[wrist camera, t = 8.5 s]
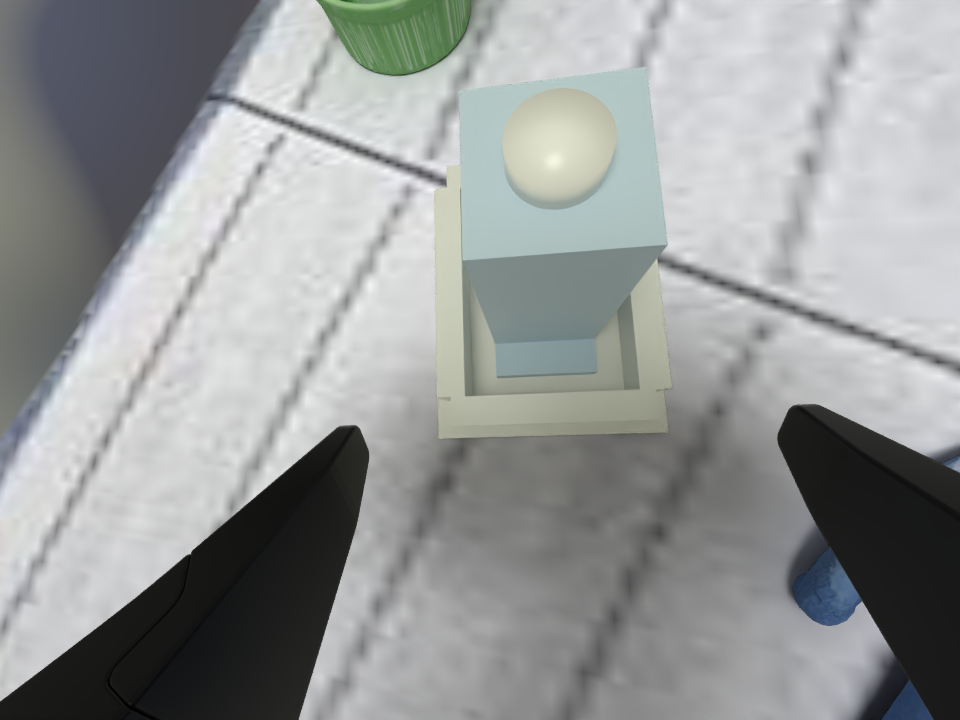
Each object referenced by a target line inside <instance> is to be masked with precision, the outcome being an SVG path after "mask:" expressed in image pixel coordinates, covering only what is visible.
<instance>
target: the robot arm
mask: <svg viewBox="0 0 960 720" xmlns="http://www.w3.org/2000/svg"><path fill="white" fill-rule="evenodd" d="M777 439H778V445H779V447H780V450H781V452H782V454H783V456H784V458H785V460H786V463H787V465H788V467H789V469H790V471H791V473H792V475H793V478H794V480H795V482H796V484H797V486H798V488H799V491H800V493H801V495H802V497H803V499H804V501H805V503H806V506H807V507H808V509H809V511H810V513H811V515H812V517H813V519H814V521H815V523H816V524H817V526H818V528H819V530H820V531H821V533H822V535H823V536H824V538H825V540H826V541H827V543H828V545H829V546H830V548H831V550H832V551H833V553H834V555H835V556H836V558H837V560H838V561H839V563H840V565H841V566H842V568H843V570H844V571H845V573H846V575H847V576H848V578H849V580H850V581H851V583H852V585H853V586H854V588H855V590H856V591H857V593H858V595H859V596H860V598H861V600H862V601H863V603H864V605H865V606H866V608H867V610H868V611H869V613H870V615H871V617H872V618H873V620H874V622H875V623H876V625H877V627H878V628H879V630H880V632H881V633H882V635H883V637H884V638H885V640H886V642H887V643H888V645H889V647H890V648H891V650H892V652H893V653H894V655H895V657H896V658H897V660H898V662H899V663H900V665H901V667H902V668H903V670H904V672H905V673H906V675H907V677H908V678H909V680H910V682H911V683H912V685H913V687H914V688H915V690H916V692H917V693H918V695H919V697H920V698H921V700H922V702H923V703H924V705H925V707H926V708H927V710H928V712H929V713H930V715H931V717H932V719H933V720H960V472H958V471H956V470H954V469H951V468H949V467H947V466H945V465H943V464H941V463H939V462H937V461H935V460H933V459H931V458H929V457H926V456H924V455H922V454H920V453H918V452H916V451H914V450H912V449H910V448H908V447H906V446H904V445H901V444H899V443H897V442H895V441H893V440H891V439H889V438H887V437H885V436H883V435H881V434H879V433H876V432H874V431H872V430H870V429H868V428H866V427H864V426H862V425H860V424H858V423H856V422H854V421H851V420H849V419H847V418H845V417H843V416H841V415H839V414H837V413H835V412H833V411H831V410H829V409H827V408H824V407H822V406H820V405H817V404H803V405H794V406H792V407H791V408H790V409H789V410H788V412H787V414H786V417H785V419H784V421H783V423H782V426H781V428H780V430H779V432H778V437H777ZM368 463H369V451H368V448H367V445H366V443H365V440H364V438H363V435H362V433H361V430H360V428H359V427H358V426H356V425H348V426H339V427H338V428H336V429H335V430H334V431H333V432H331V433H330V434H329V435H328V436H327V437H326V438H324V439H323V440H322V441H321V442H320V443H318V444H317V445H316V446H315V447H314V448H313V449H311V450H310V451H309V452H308V453H307V454H305V455H304V456H303V457H302V458H301V459H300V460H298V461H297V462H296V463H295V464H294V465H293V466H291V467H290V468H289V469H288V470H287V471H285V472H284V473H283V474H282V475H281V476H280V477H278V478H277V479H276V480H275V481H274V482H273V483H271V484H270V485H269V486H268V487H267V488H265V489H264V490H263V491H262V492H261V493H260V494H258V495H257V496H256V497H255V498H254V499H252V500H251V501H250V502H249V503H248V504H247V505H245V506H244V507H243V508H242V509H241V510H240V511H238V512H237V513H236V514H235V515H234V516H232V517H231V518H230V519H229V520H228V521H227V522H225V523H224V524H223V525H222V526H221V527H220V528H218V529H217V530H216V531H215V532H214V533H212V534H211V535H210V536H209V537H208V538H207V539H205V540H204V541H203V542H202V543H201V544H199V545H198V546H197V547H196V548H195V549H194V550H193V551H192V552H191V555H190V554H188V555H186V556H185V557H184V558H183V559H182V560H180V561H179V562H178V563H177V564H176V565H175V566H173V567H172V568H171V569H170V570H169V571H168V572H166V573H165V574H164V575H163V576H161V577H160V578H159V579H158V580H157V581H155V582H154V583H153V584H152V585H151V586H149V587H148V588H147V589H146V590H144V591H143V592H142V593H141V594H140V595H138V596H137V597H136V598H135V599H133V600H132V601H131V602H130V603H128V604H127V605H126V606H124V607H123V608H122V609H121V610H119V611H118V612H117V613H116V614H114V615H113V616H112V617H110V618H109V619H108V620H107V621H105V622H104V623H103V624H101V625H100V626H99V627H98V628H96V629H95V630H94V631H92V632H91V633H90V634H88V635H87V636H86V637H84V638H83V639H82V640H81V641H79V642H78V643H77V644H75V645H74V646H73V647H71V648H70V649H69V650H67V651H66V652H65V653H63V654H62V655H61V656H59V657H58V658H57V659H56V660H54V661H53V662H52V663H50V664H49V665H48V666H46V667H45V668H44V669H42V670H41V671H40V672H38V673H37V674H36V675H35V676H33V677H32V678H31V679H29V680H28V681H27V682H25V683H24V684H23V685H21V686H20V687H19V688H17V689H16V690H15V691H13V692H12V693H11V694H10V695H8V696H7V697H6V698H4V699H3V700H2V701H0V720H299V716H300V713H301V710H302V706H303V703H304V700H305V696H306V693H307V690H308V686H309V683H310V680H311V676H312V673H313V670H314V666H315V663H316V660H317V656H318V653H319V650H320V646H321V643H322V640H323V636H324V633H325V630H326V626H327V623H328V620H329V616H330V613H331V610H332V606H333V603H334V600H335V596H336V593H337V590H338V586H339V583H340V580H341V576H342V573H343V570H344V566H345V563H346V560H347V556H348V553H349V550H350V546H351V543H352V540H353V536H354V533H355V529H356V526H357V521H358V517H359V512H360V506H361V501H362V495H363V490H364V484H365V479H366V474H367V468H368Z"/></svg>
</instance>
